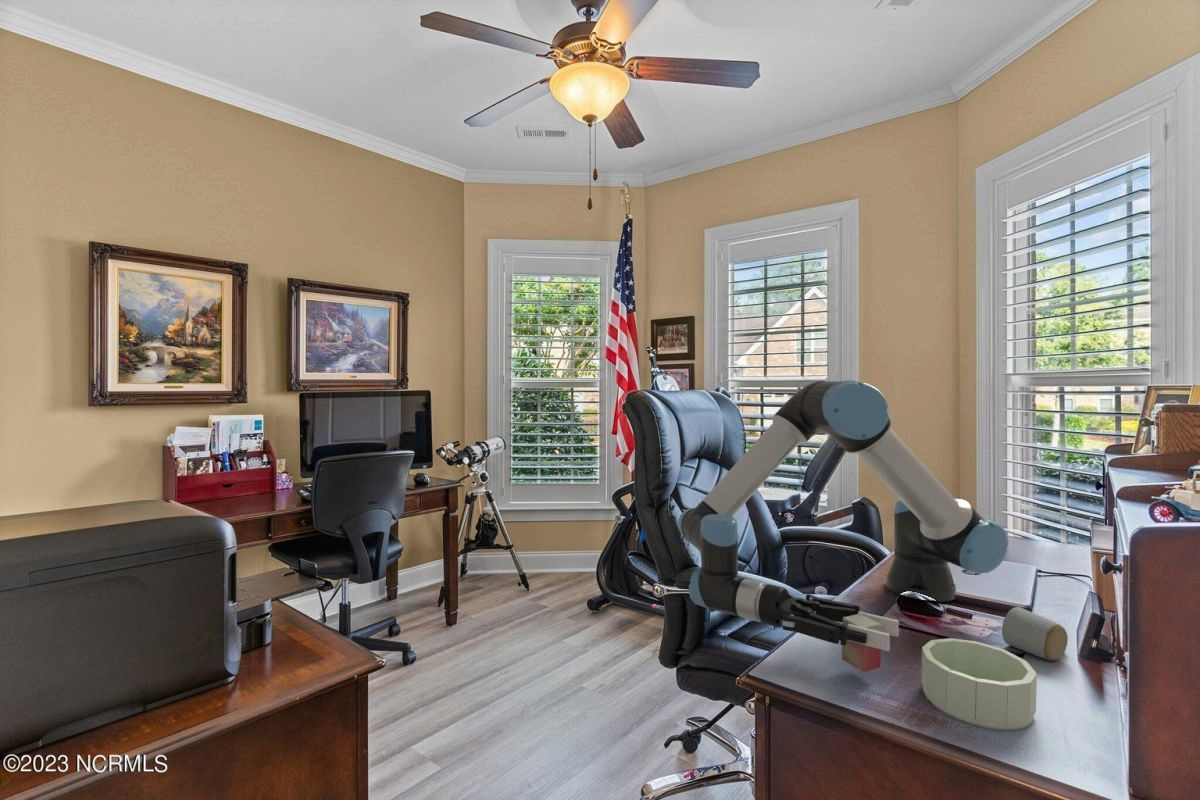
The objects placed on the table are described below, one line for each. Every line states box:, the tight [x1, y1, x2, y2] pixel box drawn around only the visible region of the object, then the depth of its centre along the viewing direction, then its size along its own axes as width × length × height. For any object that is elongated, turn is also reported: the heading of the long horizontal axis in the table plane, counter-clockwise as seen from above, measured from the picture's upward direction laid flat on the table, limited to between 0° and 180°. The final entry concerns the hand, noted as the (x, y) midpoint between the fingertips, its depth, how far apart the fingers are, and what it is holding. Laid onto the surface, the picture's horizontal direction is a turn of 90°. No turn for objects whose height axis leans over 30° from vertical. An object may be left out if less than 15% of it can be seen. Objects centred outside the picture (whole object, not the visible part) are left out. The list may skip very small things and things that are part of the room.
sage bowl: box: [921, 637, 1038, 732], centre depth 92 cm, size 15×15×7 cm
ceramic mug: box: [1001, 606, 1069, 661], centre depth 109 cm, size 11×8×8 cm
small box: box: [841, 614, 882, 673], centre depth 100 cm, size 5×4×8 cm
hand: (893, 635), depth 97 cm, fingers closed on small box, 6 cm apart
